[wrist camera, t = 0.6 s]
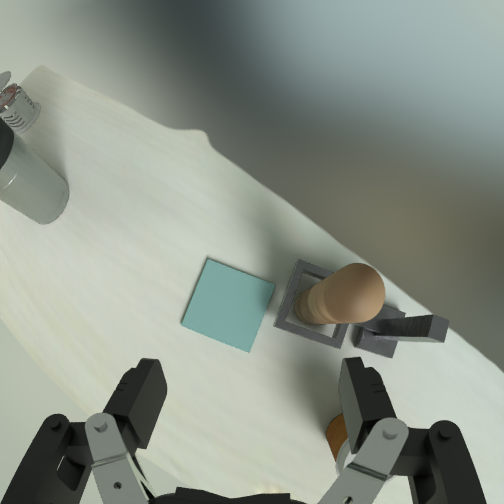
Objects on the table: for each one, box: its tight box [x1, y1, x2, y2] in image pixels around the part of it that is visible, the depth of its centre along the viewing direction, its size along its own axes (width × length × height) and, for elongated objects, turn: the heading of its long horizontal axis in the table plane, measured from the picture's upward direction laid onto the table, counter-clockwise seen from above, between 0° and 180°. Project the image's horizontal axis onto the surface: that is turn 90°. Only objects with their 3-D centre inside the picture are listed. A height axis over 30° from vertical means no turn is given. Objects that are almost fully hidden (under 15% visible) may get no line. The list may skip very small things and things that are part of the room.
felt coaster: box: [181, 259, 275, 352], centre depth 41 cm, size 10×10×1 cm
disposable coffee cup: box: [326, 414, 397, 485], centre depth 31 cm, size 10×10×12 cm
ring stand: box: [273, 259, 449, 358], centre depth 33 cm, size 18×9×16 cm, turn 69°
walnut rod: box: [295, 263, 385, 324], centre depth 32 cm, size 5×5×18 cm
